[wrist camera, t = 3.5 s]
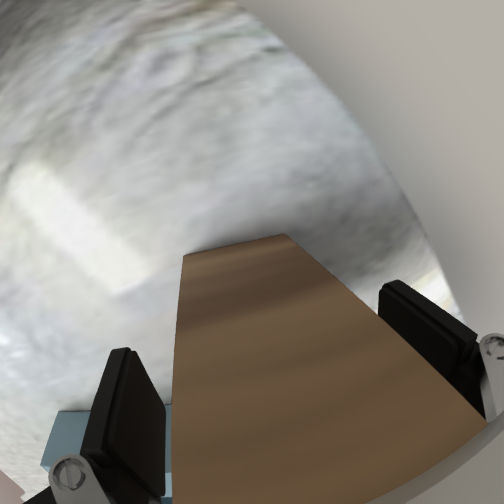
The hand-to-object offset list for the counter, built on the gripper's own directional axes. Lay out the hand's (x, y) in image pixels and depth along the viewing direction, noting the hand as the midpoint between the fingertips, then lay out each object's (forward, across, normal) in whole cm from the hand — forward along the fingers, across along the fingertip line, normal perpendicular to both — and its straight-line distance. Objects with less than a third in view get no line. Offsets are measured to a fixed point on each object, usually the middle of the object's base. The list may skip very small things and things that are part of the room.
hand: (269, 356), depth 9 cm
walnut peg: (+5, 0, 0) cm, 5 cm away
